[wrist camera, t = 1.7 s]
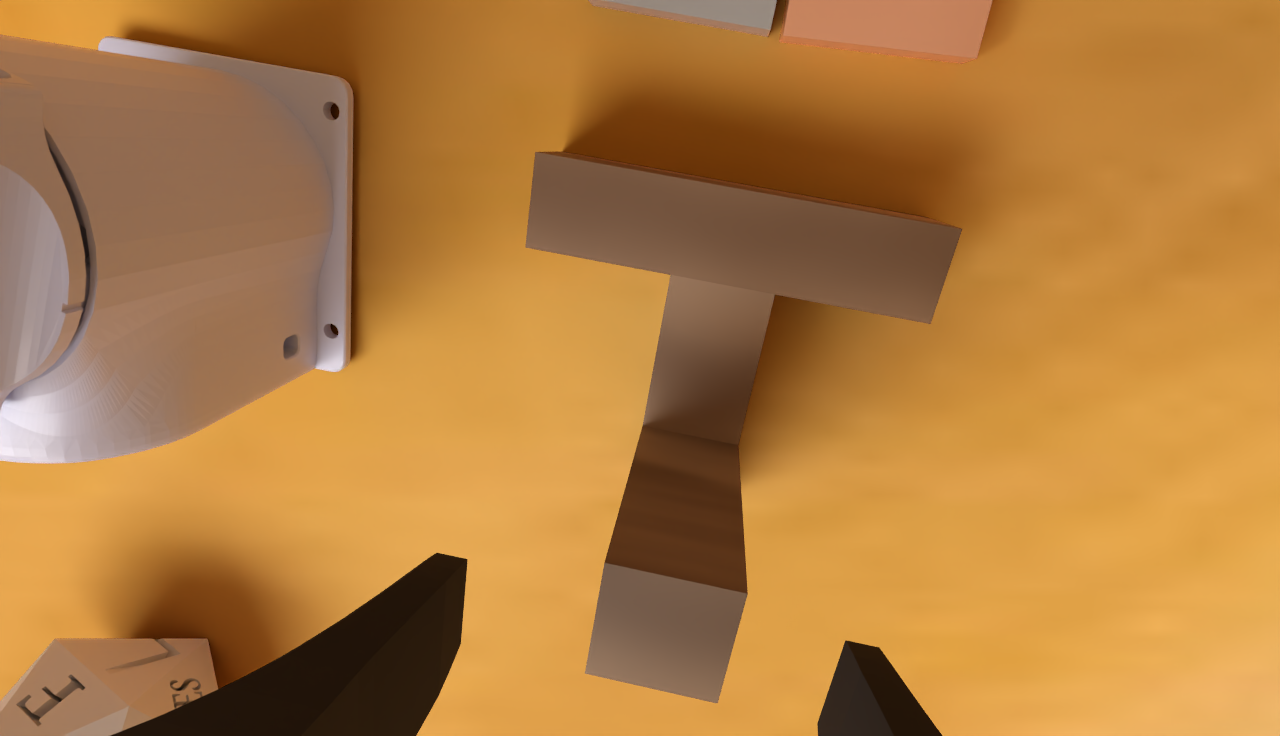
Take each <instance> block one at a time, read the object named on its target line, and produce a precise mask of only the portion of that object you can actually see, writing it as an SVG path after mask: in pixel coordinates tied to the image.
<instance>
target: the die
mask: <svg viewBox="0 0 1280 736" xmlns="http://www.w3.org/2000/svg"><path fill="white" fill-rule="evenodd" d="M216 690H218V686H217V681H216V676H215V672H214V667H213V662H212V657H211V652H210V647H209V643H208V638H162V639H158V640H157V639H54V640H53V642H52V643H51V644H50V645H49V646H48V647H47V648H46V650H45V651H44V652H43V653H42V654H41V655H40V656H39V658H38V659H37V660H36V661H35V662H34V663H33V664H32V666H31V667H30V668H29V669H28V670H27V671H26V673H25V674H24V675H23V676H22V677H21V678H20V679H19V681H18V682H17V683H16V684H15V685H14V686H13V687H12V689H11V690H10V691H9V692H8V693H7V694H6V695H5V697H4V698H3V699H2V700H1V701H0V736H110V735H113V734H115V733H118V732H121V731H123V730H126V729H128V728H131V727H133V726H136V725H138V724H141V723H143V722H146V721H148V720H151V719H153V718H155V717H158V716H160V715H163V714H165V713H167V712H169V711H172V710H174V709H176V708H178V707H180V706H183V705H185V704H187V703H189V702H191V701H194V700H196V699H198V698H200V697H202V696H205V695H207V694H209V693H211V692H213V691H216Z"/></svg>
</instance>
